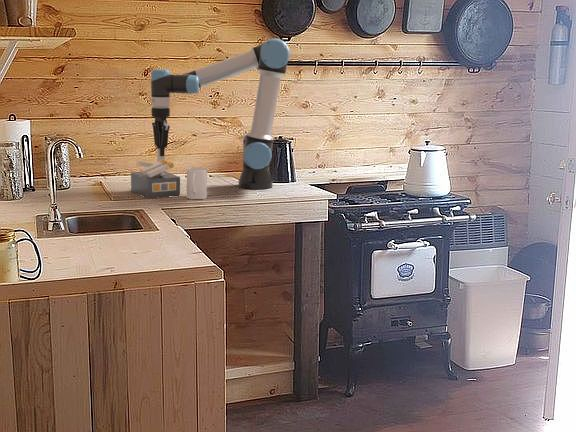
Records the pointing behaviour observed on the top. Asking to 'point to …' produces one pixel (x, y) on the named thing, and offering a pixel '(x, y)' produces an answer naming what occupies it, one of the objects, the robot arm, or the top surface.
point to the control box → (155, 185)
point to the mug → (196, 183)
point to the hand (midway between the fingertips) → (161, 163)
